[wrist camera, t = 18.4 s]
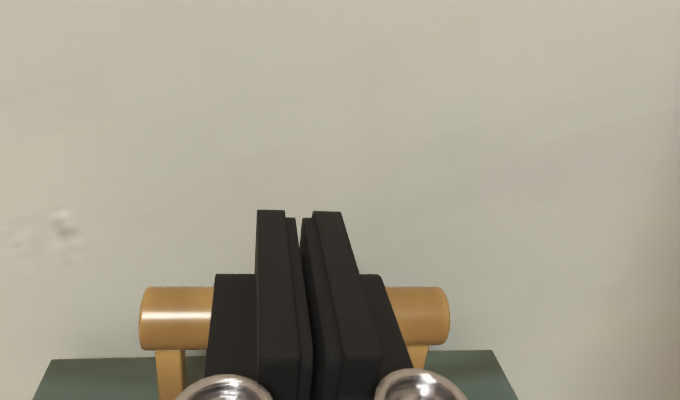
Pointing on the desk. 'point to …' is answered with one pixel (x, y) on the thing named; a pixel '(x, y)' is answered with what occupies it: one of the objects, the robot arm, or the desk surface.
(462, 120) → the desk surface
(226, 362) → the robot arm
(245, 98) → the desk surface
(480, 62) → the desk surface
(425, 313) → the drawer
